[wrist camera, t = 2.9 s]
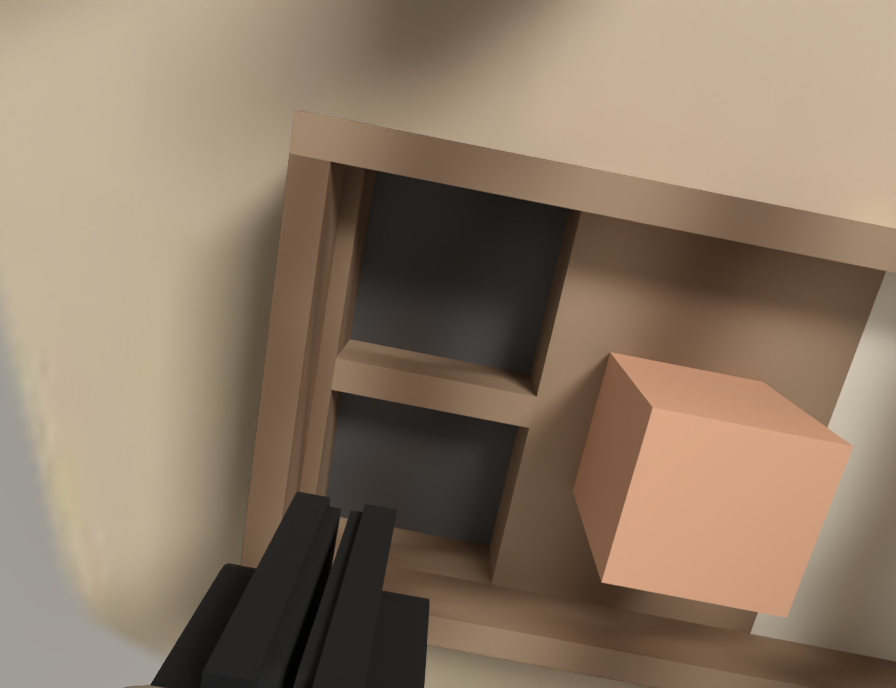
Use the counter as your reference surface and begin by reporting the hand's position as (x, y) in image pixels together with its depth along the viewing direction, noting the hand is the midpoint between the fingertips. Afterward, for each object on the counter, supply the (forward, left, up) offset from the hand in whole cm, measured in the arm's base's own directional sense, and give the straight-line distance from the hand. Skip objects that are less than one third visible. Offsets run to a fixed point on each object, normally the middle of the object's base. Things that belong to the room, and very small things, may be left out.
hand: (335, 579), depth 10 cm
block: (-8, 0, -9) cm, 12 cm away
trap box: (-8, 0, -11) cm, 14 cm away
